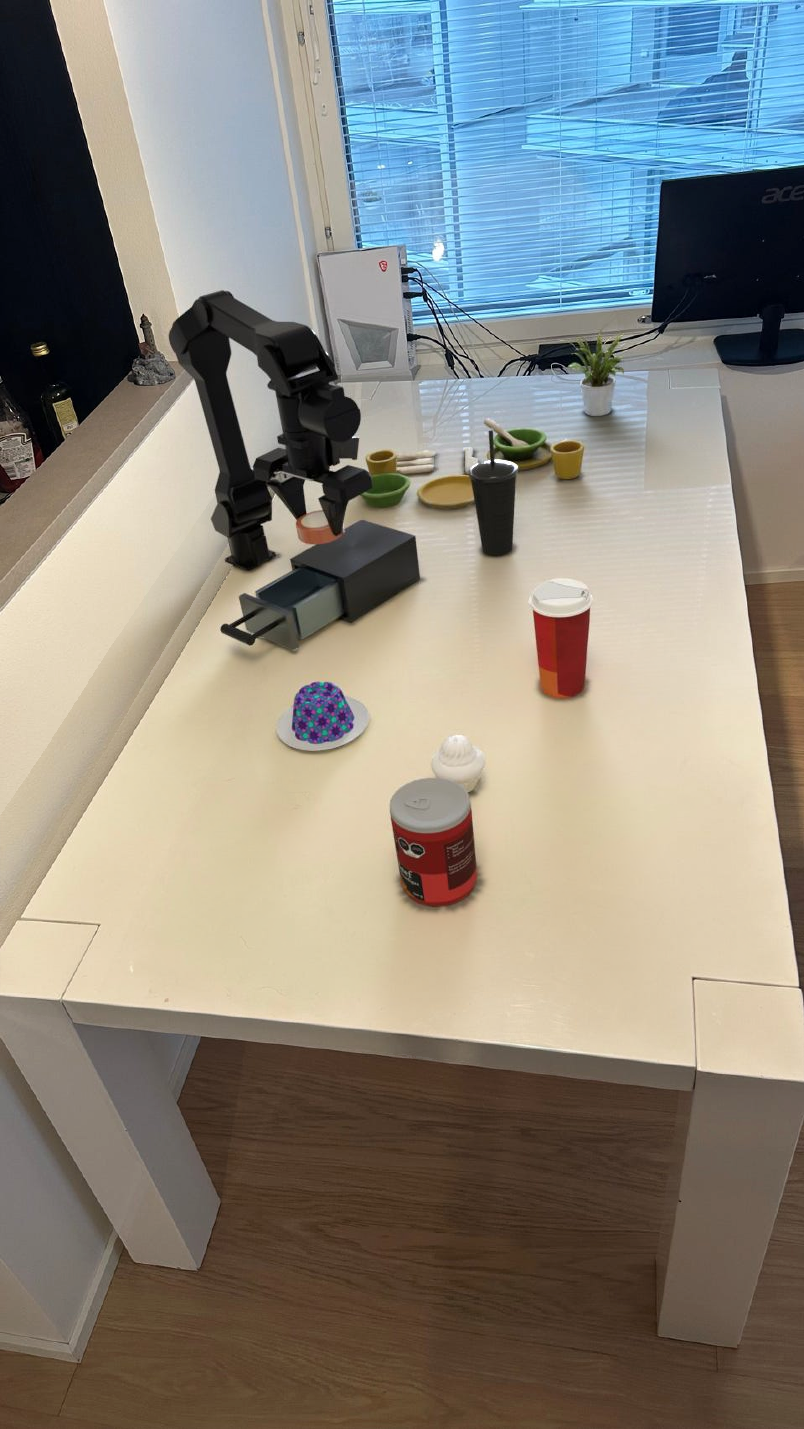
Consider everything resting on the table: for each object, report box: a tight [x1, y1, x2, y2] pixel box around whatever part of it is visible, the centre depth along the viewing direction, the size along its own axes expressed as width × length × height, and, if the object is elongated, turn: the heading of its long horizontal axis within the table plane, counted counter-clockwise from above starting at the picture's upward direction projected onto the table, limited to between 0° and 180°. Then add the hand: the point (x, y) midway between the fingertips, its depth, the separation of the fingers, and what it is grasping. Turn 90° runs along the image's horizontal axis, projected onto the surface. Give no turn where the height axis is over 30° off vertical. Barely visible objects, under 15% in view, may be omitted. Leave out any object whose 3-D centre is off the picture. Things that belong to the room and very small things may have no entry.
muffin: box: [430, 734, 486, 794], centre depth 115 cm, size 6×6×7 cm
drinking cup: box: [467, 428, 519, 557], centre depth 158 cm, size 8×8×20 cm
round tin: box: [295, 509, 345, 545], centre depth 147 cm, size 7×7×3 cm
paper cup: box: [527, 577, 594, 699], centre depth 127 cm, size 8×8×14 cm
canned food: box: [389, 777, 478, 907], centre depth 102 cm, size 8×8×11 cm
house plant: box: [557, 329, 627, 417], centre depth 203 cm, size 14×14×16 cm
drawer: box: [219, 567, 346, 651], centre depth 147 cm, size 20×10×6 cm, turn 138°
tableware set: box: [359, 417, 585, 509], centre depth 186 cm, size 41×28×6 cm
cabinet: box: [289, 518, 421, 624], centre depth 155 cm, size 16×12×8 cm
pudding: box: [275, 681, 370, 752], centre depth 128 cm, size 12×12×5 cm
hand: (320, 529), depth 147 cm, fingers closed on round tin, 7 cm apart
